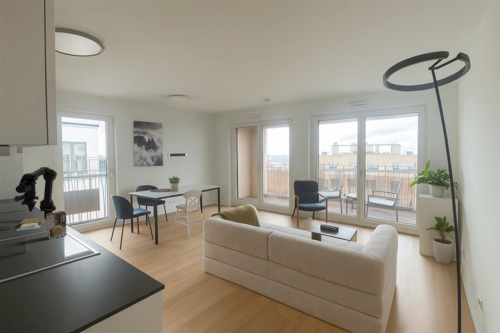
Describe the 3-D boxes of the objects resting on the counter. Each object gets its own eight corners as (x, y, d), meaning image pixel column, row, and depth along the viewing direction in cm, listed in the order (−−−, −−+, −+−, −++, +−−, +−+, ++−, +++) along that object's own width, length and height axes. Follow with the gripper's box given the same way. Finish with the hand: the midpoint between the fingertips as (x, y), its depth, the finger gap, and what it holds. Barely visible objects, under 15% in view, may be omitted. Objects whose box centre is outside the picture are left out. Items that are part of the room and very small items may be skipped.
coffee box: (63, 233, 162) (62, 210, 161) (66, 235, 159) (66, 212, 158) (46, 237, 155) (45, 213, 154) (49, 239, 151) (49, 214, 150)
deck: (24, 222, 182) (24, 219, 182) (44, 221, 188) (44, 217, 188) (19, 227, 171) (19, 223, 171) (41, 225, 177) (41, 221, 177)
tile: (23, 226, 172) (23, 224, 172) (37, 225, 176) (37, 222, 176) (20, 229, 167) (20, 226, 167) (35, 227, 171) (35, 225, 171)
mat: (19, 227, 171) (19, 227, 171) (41, 225, 177) (41, 225, 177) (16, 231, 164) (16, 230, 164) (38, 228, 171) (38, 228, 171)
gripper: (18, 189, 177) (19, 209, 178) (11, 193, 161) (11, 216, 162) (38, 188, 183) (39, 208, 184) (32, 192, 167) (33, 214, 168)
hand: (30, 211), depth 175 cm, fingers closed
